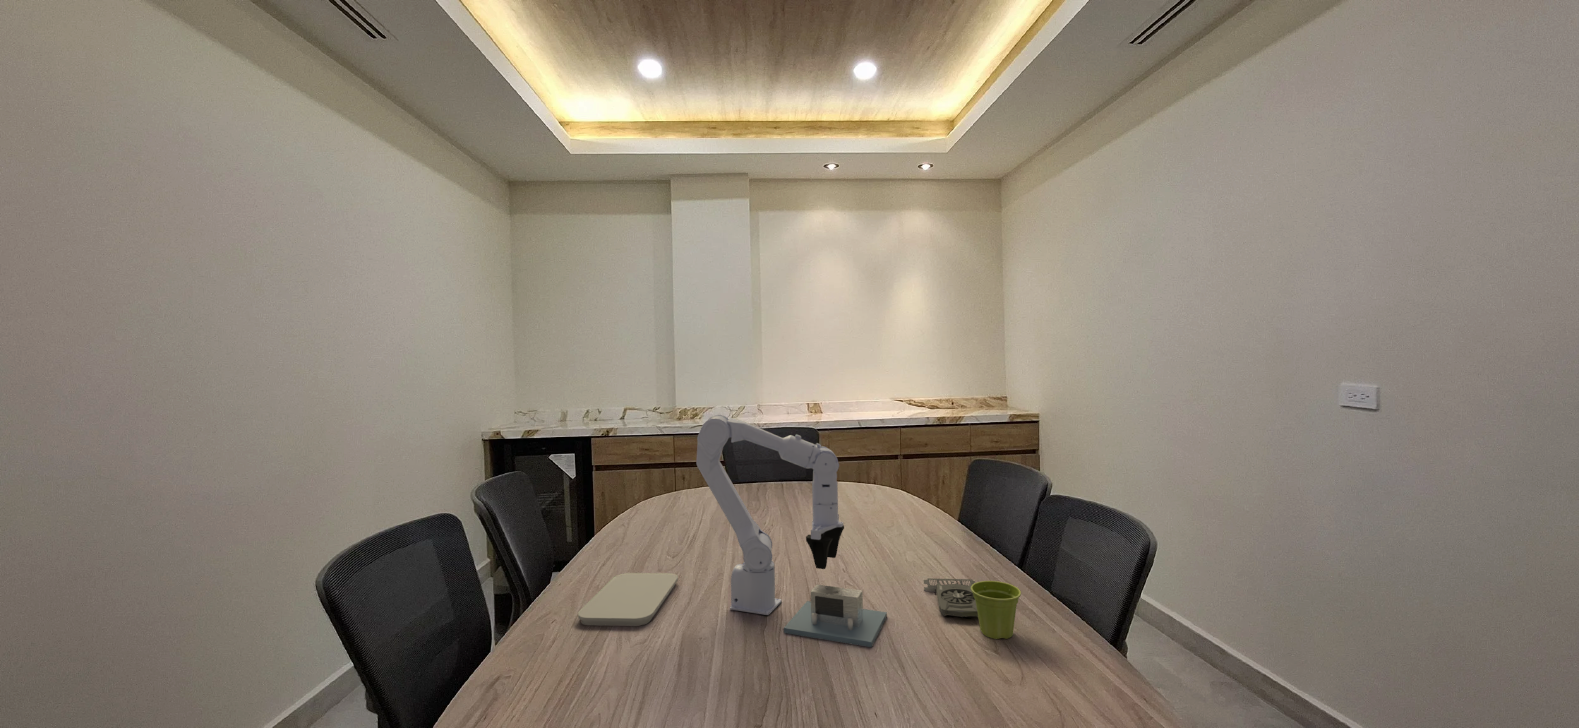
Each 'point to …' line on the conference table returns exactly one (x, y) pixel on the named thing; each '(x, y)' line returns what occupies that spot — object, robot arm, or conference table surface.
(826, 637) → the tray
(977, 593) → the plant pot
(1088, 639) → the conference table surface
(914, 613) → the conference table surface
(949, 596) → the graphics card
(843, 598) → the beige rectangular block
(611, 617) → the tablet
